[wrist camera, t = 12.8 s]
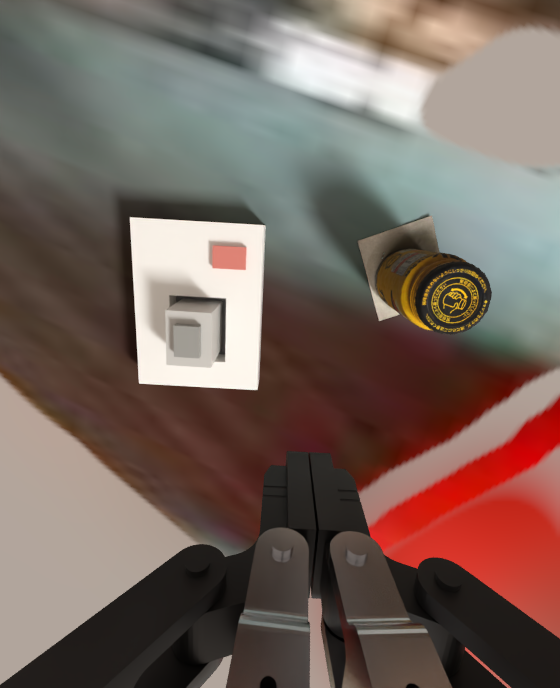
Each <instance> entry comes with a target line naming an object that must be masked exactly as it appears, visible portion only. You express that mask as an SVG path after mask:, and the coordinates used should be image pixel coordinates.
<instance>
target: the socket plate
mask: <svg viewBox="0 0 560 688" xmlns="http://www.w3.org/2000/svg"><path fill="white" fill-rule="evenodd" d="M265 230H266V226H265V225H253V224H236V223H219V222H202V221H185V220H168V219H151V218H133V217H130V231H131V249H132V267H133V284H134V302H135V320H136V338H137V355H138V373H139V384H157V385H175V386H194V387H212V388H230V389H248V390H257V389H258V383H259V370H260V347H261V324H262V300H263V277H264V253H265ZM183 298H186V299H201V300H216V301H223V309H222V348H221V350H220V352H219V354H218V356H217V358H216V360H215V362H214V363H213V365H212V367H211V368H206V367H190V366H174V365H166V324H165V310H166V309H168V308H169V307H171V306H172V305H174V304H175V303H177V302H178V301H180V300H181V299H183Z"/></svg>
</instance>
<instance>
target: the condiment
mask: <svg viewBox="0 0 560 688" xmlns="http://www.w3.org/2000/svg"><path fill="white" fill-rule="evenodd" d="M358 244H359V248H360V252H361V256H362V259H363V263H364V266H365V270H366V274H367V278H368V282H369V286H370V289H371V293H372V297H373V300H374V304H375V308H376V312H377V315H378V319H379V321H381V320H384V319H387V318H390V317H393V316H396V315H399V314H400V315H402V316H404V317H405V318H407V319H408V320H409V321H411V322H412V323H413V324H415V325H417V326H419V327H421V328H424V329H428V330H433V331H435V332H438V333H441V334H450V335H451V334H457V333H461V332H464V331H467V330H469V329H471V328H472V327H473V326H475V325H476V324H477V323H478V322H479V321H480V320H481V319H482V318H483V316H484V315H485V313H486V312H487V311H488V307H489V304H490V300H491V294H492V292H491V288H490V284H489V281H488V279H487V277H486V275H485V273H483V272H482V271H481V270H480V269H479V268H477V267H475V266H474V265H473V264H469V263H468V262H466V261H465V260H463V259H462V258H459V257H457V256H455V255H451V254H445V253H440V252H439V248H438V244H437V239H436V234H435V228H434V223H433V219H432V216H429V217H426V218H424V219H420V220H417V221H414V222H412V223H409V224H406V225H403V226H400V227H397V228H394V229H391V230H388V231H385V232H382V233H380V234H377V235H374V236H371V237H368V238H365V239H362V240H359V241H358ZM384 252H385V254H384V255H383V253H384ZM382 257H383V259H382Z"/></svg>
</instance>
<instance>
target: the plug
mask: <svg viewBox="0 0 560 688" xmlns="http://www.w3.org/2000/svg"><path fill="white" fill-rule="evenodd" d="M222 309H223V301H216V300H201V299H186V298H183V299H181V300H180V301H178V302H177V303H175V304H174V305H172V306H171V307H169V308H168V309H166V310H165V324H166V365H174V366H190V367H206V368H211V367H212V365H213V363H214V362H215V360H216V358H217V356H218V354H219V352H220V350H221V348H222Z"/></svg>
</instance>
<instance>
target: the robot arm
mask: <svg viewBox="0 0 560 688" xmlns="http://www.w3.org/2000/svg"><path fill="white" fill-rule="evenodd" d="M310 586H311V596H312V598H320V599H321V601H322V602H321V603H322V618H321V633H322V639H323V645H324V651H325V657H326V663H327V669H328V675H329V681H330V687H331V688H507V687H506V686H504V685H503V684H502V683H501V682H500V681H499V680H498V679H496V677H494V676H493V675H492V674H491V673H490V672H489V671H488V670H487V669H485V668H484V667H483V666H482V665H481V664H480V663H479V662H478V661H477V660H475V659H474V658H473V657H472V656H471V655H470V654H469V653H468V652H466V651H465V647H466V648H467V649H468V650H470V651H471V652H472V653H473V654H474V655H475V656H476V657H478V658H479V659H480V660H481V661H482V662H483V663H484V664H486V665H487V666H488V667H489V668H490V669H491V670H492V671H493V672H495V673H496V674H497V675H498V676H499V677H500V678H501V679H502V680H503V681H505V682H506V683H507V684H508V685H509V686H510V687H511V688H560V639H559V638H558V637H557V636H555V635H554V634H552V633H551V632H550V631H548V630H547V629H546V628H544V627H543V626H541V625H540V624H539V623H537V622H536V621H535V620H533V619H532V618H530V617H529V616H528V615H526V614H525V613H524V612H522V611H521V610H519V609H518V608H517V607H515V606H514V605H512V604H511V603H510V602H509V601H507V600H506V599H504V598H503V597H502V596H500V595H499V594H498V593H496V592H495V591H493V590H492V589H491V588H489V587H488V586H487V585H485V584H484V583H482V582H481V581H480V580H478V579H477V578H476V577H474V576H473V575H471V574H470V573H469V572H467V571H466V570H465V569H463V568H462V567H460V566H459V565H457V564H455V563H454V562H451V561H449V560H446V559H443V558H428V559H425V560H424V561H422V562H421V563H420V564H419V567H418V569H416V568H413V567H410V566H407V565H404V564H401V563H399V562H396V561H394V560H392V559H390V558H388V557H387V556H385V555H384V554H383V551H382V549H381V547H380V546H379V545H378V543H377V542H376V541H374V540H373V539H372V538H371V537H370V533H369V530H368V526H367V523H366V519H365V516H364V512H363V509H362V505H361V502H360V498H359V495H358V493H357V488H356V484H355V481H354V479H353V477H352V476H351V475H350V474H349V473H348V472H347V471H346V470H345V469H333V464H332V459H331V455H330V453H312V452H309V455H308V452H292V451H287V455H286V466H275V465H271V466H270V468H269V469H268V470H267V472H266V473H265V474H264V487H263V499H262V512H261V525H260V534H259V537H258V539H257V541H256V542H255V544H254V545H253V546H252V547H250V548H249V549H248V550H246V551H244V552H242V553H239V554H236V555H232V556H227V557H225V556H224V555H223V553H222V552H221V551H220V550H219V549H217V548H215V547H213V546H210V545H204V544H199V545H193V546H190V547H187V548H185V549H183V550H182V551H180V552H179V553H177V554H176V555H175V556H173V557H172V558H171V559H169V560H168V561H167V562H165V563H164V564H163V565H161V566H160V567H159V568H157V569H156V570H154V571H153V572H152V573H151V574H149V575H148V576H146V577H145V578H144V579H142V580H141V581H140V582H138V583H137V584H136V585H134V586H133V587H132V588H130V589H129V590H128V591H126V592H125V593H123V594H122V595H121V596H119V597H118V598H117V599H115V600H114V601H113V602H111V603H110V604H109V605H107V606H106V607H105V608H103V609H102V610H101V611H99V612H98V613H96V614H95V615H94V616H92V617H91V618H90V619H89V620H87V621H86V622H84V623H83V624H82V625H80V626H79V627H78V628H76V629H75V630H74V631H72V632H71V633H70V634H68V635H67V636H65V637H64V638H63V639H62V640H60V641H59V642H57V643H56V644H55V645H53V646H52V647H51V648H50V649H48V650H47V651H45V652H44V653H43V654H41V655H40V656H39V657H37V658H36V659H34V660H33V661H32V662H31V663H29V664H28V665H26V666H25V667H24V668H22V669H21V670H20V671H18V672H17V673H16V674H14V675H13V676H12V677H10V678H9V679H8V680H6V681H5V682H4V683H2V684H1V685H0V688H200V687H201V686H202V685H203V684H204V683H205V681H206V680H207V679H208V678H209V677H210V676H211V675H212V674H213V672H214V671H215V670H216V669H217V667H218V666H219V665H220V663H221V661H222V659H223V657H226V656H229V655H232V659H231V664H230V669H229V675H228V680H227V685H226V688H309V684H310V683H309V680H310V676H309V675H310V673H309V671H310V623H309V622H308V598H309V595H310Z"/></svg>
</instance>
